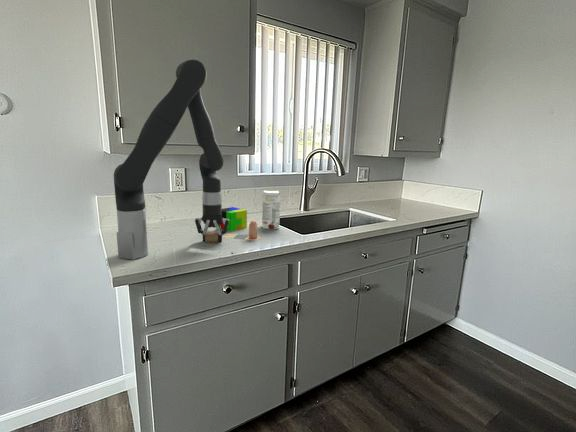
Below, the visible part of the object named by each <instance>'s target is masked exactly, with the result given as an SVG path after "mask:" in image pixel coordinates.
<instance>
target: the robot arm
mask: <svg viewBox="0 0 576 432" xmlns="http://www.w3.org/2000/svg"><path fill="white" fill-rule="evenodd" d="M175 77H176V80H175V82H174V83H173V85H172V86H171V88H170V90H169V91H168V93H167V94H166V95H165V96H164V97H163V98H162V99H161V100H160V101H159V102H158V103H157V104H156V106H155V107H154V108H153V109H152V111H151V112H150V114H149V115H148V117H147V119H146V120H145V123H144V124H143V126H142V128H141V130H140V132H139V135H138V138H137V139H136V142H135V145H134V147H133V149H132V151H131V152H130V154H128V157H126V159H125V160H124V162H122V163H121V164H119V165H117V167H116V168H115V169H114V172H113V185H114V197H115V205H116V217H117V218H116V219H117V230H118V231H117V232H116V241H117V243H116V244H117V245H116V246H117V253H118V254H117V256H118V258H119V259H125V260H135V259H141V258H144V257H146V256H148V255H149V247H148V245H149V244H148V231H147V216H146V215H147V212H146V201H145V200H146V199H145V195H144V183H145V180H146V178H147V176H148V174H149V171H150V170H151V168H152V165H153V163H154V162H155V160H156V158H157V157H158V155H159V154H160V153H161V152H162V150H163V149H164V148H165V146H166V144H167V143H168V142H169V140H170V138H171V137H172V136H173V134H174V132H175V130H176V129H177V128H178V126H179V124H180V121H181V120H182V118H183V116H184V115H185V112H186V110H187V109H188V112H189V115H190V118H191V122H192V123H191V124H192V126H193V127H192V128H193V130H194V135H195V139H196V143H197V145H198V146H199V147H200V148H201V149H202V150H203V153H202V154H201V155H200V156H199V161H198V163H199V164H198V166H199V171H200V176H201V179H202V197H201V199H202V201H201V202H202V217H196V218H195V219H194V222H195V226H196V227H195V228H196V231H197V233H198V234H202V242H203V243H205V234H206V233H207V231H208V229H209V228H215V229H216V231H218V234H219V235H218V243H222V242H223V237H222V234H224V235H225V233H227V231H228V230H227V228H228V224H229V219H224V218H223V217H222V209H223V208H222V203H223V199H222V189H221V188H222V187H221V185H222V184H221V178H220V177H219V176H218V175H217V172H218V171H220V170H221V169H222V168H223V166H224V156H223V153H222V151H221V149H220V146H219V144H218V142H217V140H216V135H215V130H214V126H213V124H212V120H211V118H210V117H211V116H210V115H209V113H208V111H207V109H206V107H205V104H204V101H203V97H202V91H201V88H203V86H204V84H205V83H206V81H207V77H208V75H207V68H206V66H205V65H204V63H203V62H201V61H200V60H197V59H187V60H185V61H183V62H181V63H179V64H178V65H177V67H176V71H175ZM222 221H223V223H224V224H225V226H224V229H222V228H221V226H220V223H221V222H222ZM202 222H203V224H204V228H203V229H202Z"/></svg>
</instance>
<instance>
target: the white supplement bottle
mask: <svg viewBox="0 0 576 432" xmlns="http://www.w3.org/2000/svg"><path fill="white" fill-rule="evenodd" d="M261 210H262V212H261V213H262V215H261V225H262V228H263V229H264V230H265V229H266V230H267V229H270V230H272V229H273V230H276V229H277V230H278V229H279V227H280V218H281V217H280V216H281V215H280V211H281V195H280V192H279V190H263V194H262V209H261Z"/></svg>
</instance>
